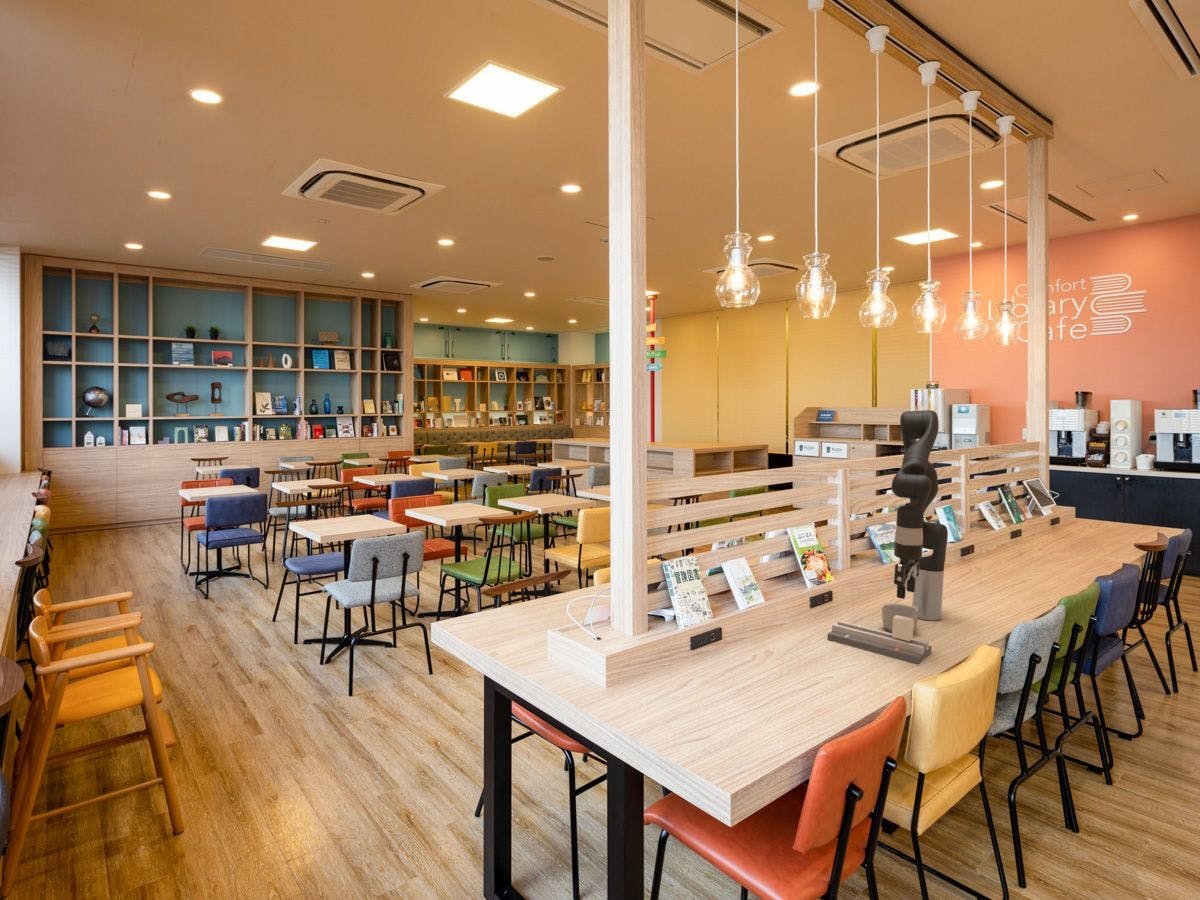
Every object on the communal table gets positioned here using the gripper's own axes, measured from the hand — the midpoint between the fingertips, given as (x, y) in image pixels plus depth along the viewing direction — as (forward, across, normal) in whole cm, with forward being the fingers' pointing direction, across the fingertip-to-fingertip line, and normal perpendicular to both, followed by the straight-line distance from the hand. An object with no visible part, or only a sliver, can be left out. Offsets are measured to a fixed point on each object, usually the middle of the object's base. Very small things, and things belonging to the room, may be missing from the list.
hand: (905, 594), depth 201 cm
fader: (+15, 0, 0) cm, 15 cm away
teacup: (+18, -20, -7) cm, 28 cm away
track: (+18, 0, -7) cm, 19 cm away
